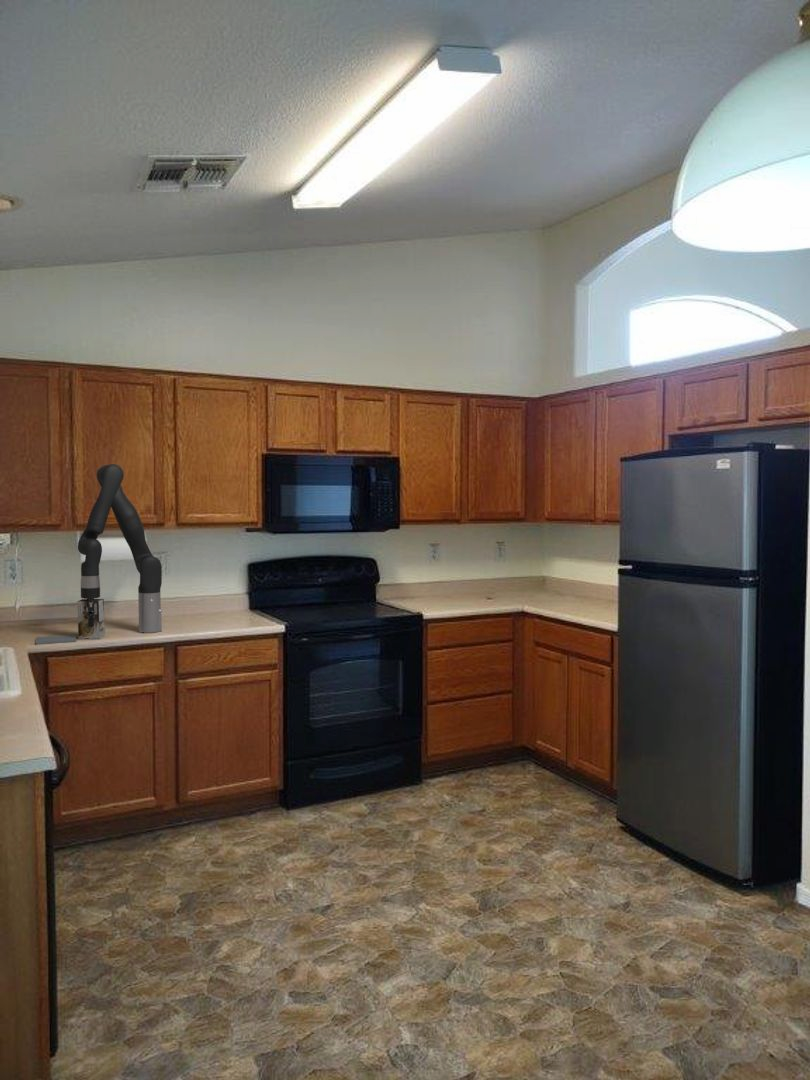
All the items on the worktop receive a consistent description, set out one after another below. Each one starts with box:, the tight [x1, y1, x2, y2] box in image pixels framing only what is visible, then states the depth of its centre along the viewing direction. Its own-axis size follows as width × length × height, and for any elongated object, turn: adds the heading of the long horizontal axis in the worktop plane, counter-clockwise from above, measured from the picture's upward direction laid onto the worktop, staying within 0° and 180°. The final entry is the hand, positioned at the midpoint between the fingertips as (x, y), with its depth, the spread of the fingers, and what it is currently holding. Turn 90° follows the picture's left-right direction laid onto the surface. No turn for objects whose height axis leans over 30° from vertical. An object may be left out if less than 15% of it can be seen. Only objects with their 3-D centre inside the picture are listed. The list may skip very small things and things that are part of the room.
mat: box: [35, 634, 77, 645], centre depth 322 cm, size 15×14×1 cm
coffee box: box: [76, 598, 106, 640], centre depth 326 cm, size 9×6×16 cm
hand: (91, 625), depth 327 cm, fingers closed on coffee box, 7 cm apart
